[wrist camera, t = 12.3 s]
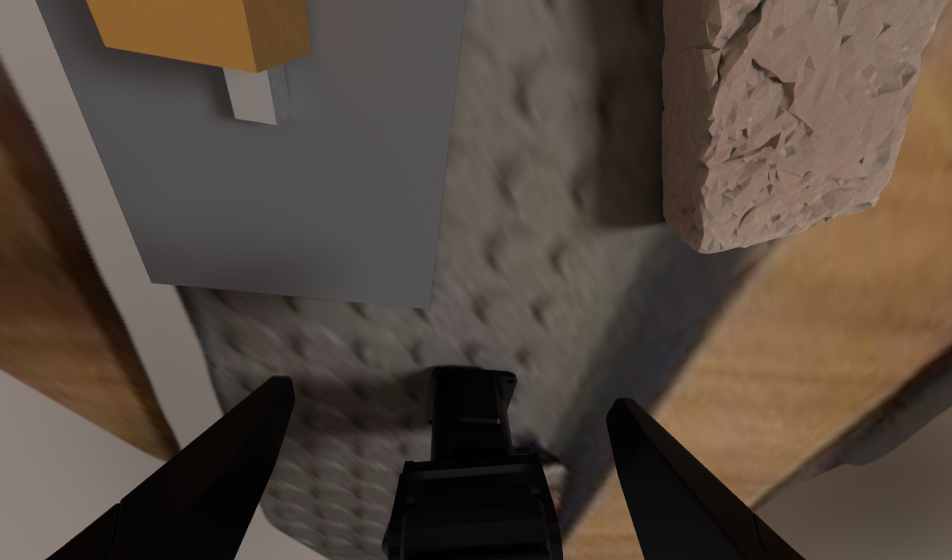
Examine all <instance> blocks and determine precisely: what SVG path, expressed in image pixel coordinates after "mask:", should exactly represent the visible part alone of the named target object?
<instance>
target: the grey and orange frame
mask: <svg viewBox="0 0 952 560" xmlns="http://www.w3.org/2000/svg"><path fill="white" fill-rule="evenodd" d="M86 1H87V4H88V6H89V9H90V11H91V13H92V16H93V18H94V21H95V23H96V25H97V28H98V30H99V33H100V35H101V37H102V40H103V42H104V45H105V47H110V48H116V49H121V50H127V51H133V52H138V53H144V54H150V55H155V56H161V57H167V58H172V59H178V60H184V61H189V62H195V63H201V64H206V65H212V66H218V67H223V71H224V75H225V79H226V83H227V87H228V91H229V95H230V99H231V103H232V107H233V111H234V115H235V119H241V120H247V121H254V122H260V123H266V124H273V125H278V124H279V123H281V122H282V121H283V120H285V119H286V118H288V117H289V116H291V111H290V104H289V97H288V91H287V84H286V78H285V71H284V65H283V63H286V62H289V61H292V60H294V59H297V58H300V57H302V56H305V55H308V54H310V53H312V49H311V40H310V30H309V21H308V12H307V2H306V0H86Z"/></svg>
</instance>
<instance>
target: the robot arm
mask: <svg viewBox="0 0 952 560" xmlns="http://www.w3.org/2000/svg"><path fill="white" fill-rule="evenodd" d="M437 374H440V375H437ZM509 379H510V380H509ZM516 383H517V378H516V375H515V374H514V373H505V372H491V371H477V370H463V369H449V368H436V369H434V370H433V371H432V377H431V384H430V391H429V398H428V405H427V412H426V424H428V425H432V440H431V459H430V461H423V462H414V461H405V464H404V468H403V473H402V474H400V477H399V480H398V487H397V492H396V496H395V501H394V506H393V510H392V515H391V518H390V521H389V524H388V527H387V529H386V532H385V535H384V538H383V541H382V553H383V555H384V556H385V557H386V559H387V560H563V551H562V542H561V535H560V529H559V524H558V519H557V515H556V511H555V507H554V503H553V500H552V497H551V494H550V490H549V487H548V484H547V481H546V477H545V474H544V471H543V467H542V464H541V461H540V458H539V454H538V452H529V454H517V455H514V454H513V447H512V441H511V434H510V428H509V421H508V415H507V409H508V406H509V403H510V401H511V398H512V395H513V392H514V389H515V386H516ZM294 403H295V394H294V388H293V383H292V379H291V377H289V376H273V377H271V378H269V379H268V380H267V381H266V382H265V383H263V384H262V385H261V386H260V387H258V388H257V389H256V390H255V391H253V392H252V393H251V394H250V395H249V396H247V397H246V398H245V399H244V400H242V401H241V402H240V403H239V404H238V405H236V406H235V407H234V408H233V409H231V410H230V411H229V412H228V413H227V414H225V415H224V416H223V417H222V418H220V419H219V420H218V421H217V422H216V423H214V424H213V425H212V426H211V427H209V428H208V429H207V430H206V431H205V432H203V433H202V434H201V435H200V436H198V437H197V438H196V439H195V440H194V441H192V442H191V443H190V444H189V445H187V446H186V447H185V448H184V449H182V450H181V451H180V452H179V453H178V454H176V455H175V456H174V457H173V458H171V459H170V460H169V461H168V462H167V463H165V464H164V465H163V466H162V467H160V468H159V469H158V470H157V471H156V472H155V473H153V474H152V475H151V476H150V477H148V478H147V479H146V480H145V481H143V482H142V483H141V484H140V485H138V486H137V487H136V488H135V489H134V490H132V491H131V492H130V493H129V494H128V495H126V496H125V497H124V498H123V499H121V501H120V504H119V503H117V504H115V505H114V506H113V507H111V508H110V509H109V510H108V511H106V512H105V513H104V514H103V515H102V516H100V517H99V518H98V519H97V520H95V521H94V522H93V523H92V524H90V525H89V526H88V527H87V528H85V529H84V530H83V531H82V532H80V533H79V534H78V535H76V536H75V537H74V538H73V539H71V540H70V541H69V542H68V543H66V544H65V545H64V546H63V547H61V548H60V549H59V550H57V551H56V552H55V553H53V554H52V555H51V556H49V557H48V558H47V559H45V560H234V558H235V556H236V554H237V552H238V549H239V547H240V545H241V542H242V540H243V538H244V536H245V533H246V531H247V528H248V526H249V524H250V522H251V520H252V517H253V515H254V513H255V510H256V508H257V506H258V504H259V501H260V499H261V497H262V494H263V492H264V490H265V488H266V485H267V483H268V481H269V478H270V476H271V474H272V471H273V469H274V466H275V464H276V461H277V458H278V455H279V451H280V448H281V445H282V442H283V439H284V436H285V432H286V429H287V426H288V423H289V420H290V417H291V413H292V410H293V407H294ZM606 423H607V428H608V432H609V437H610V442H611V446H612V451H613V456H614V460H615V465H616V469H617V473H618V477H619V480H620V484H621V487H622V490H623V493H624V496H625V499H626V503H627V506H628V509H629V512H630V515H631V518H632V521H633V525H634V528H635V531H636V534H637V537H638V540H639V543H640V547H641V550H642V553H643V556H644V559H645V560H805V559H804V558H803V557H802V556H801V555H800V554H799V553H798V552H796V551H795V550H794V549H793V548H792V547H791V546H790V545H789V544H787V543H786V542H785V541H784V540H783V539H782V538H781V537H780V536H779V535H777V533H775V532H774V531H773V530H772V529H771V528H770V527H769V526H768V525H767V524H766V523H765V522H763V521H762V520H761V519H760V518H759V517H758V516H757V515H756V514H755V513H752V511H751V509H750V508H748V507H747V506H746V505H745V504H744V503H743V502H742V501H741V500H740V499H739V498H738V497H737V496H736V495H735V494H733V493H732V492H731V491H730V490H729V489H728V488H727V487H726V486H725V485H724V484H723V483H722V482H721V481H720V480H719V479H717V478H716V477H715V476H714V475H713V474H712V473H711V472H710V471H709V470H708V469H707V468H706V467H705V466H704V465H703V464H701V463H700V462H699V461H698V460H697V459H696V458H695V457H694V456H693V455H692V454H691V453H690V452H689V451H688V450H687V449H685V448H684V447H683V446H682V445H681V444H680V443H679V442H678V441H677V440H676V439H675V438H674V437H673V436H672V435H671V434H669V433H668V432H667V431H666V430H665V429H664V428H663V427H662V426H661V425H660V424H659V423H658V422H657V421H656V420H655V419H653V418H652V417H651V416H650V415H649V414H648V413H647V412H646V411H645V410H644V409H643V408H642V407H641V406H640V405H638V404H637V403H636V402H635V401H634V400H633V399H631V398H617V399H616V400H615V402H614V403H613V405H612V407H611V408H610V410H609V412H608V413H607V417H606Z"/></svg>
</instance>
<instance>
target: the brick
mask: <svg viewBox="0 0 952 560" xmlns="http://www.w3.org/2000/svg"><path fill="white" fill-rule="evenodd" d="M945 2H946V0H663V9H662V15H663V20H664V25H663V28H664V35H665V48H664V55H663V59H662V75H663V88H662V99H663V103H664V110H663V113H662V140H663V142H662V179H663V196H664V197H663V204H662V205H663V215H664V218H665V220H666V223H667V224H668V226H669V228H670V229H671V230H672V231H673V232H674V233H675V234H678V235H679V237H680V238H681V240H682V241H683V242H684V243H686V244H688V245H689V247H691V248H693V249H694V250H696V251H697V252H700V253H704V254H708V253H716V252H721V251H725V250H729V249H733V248H736V247H741V248H746V247H748V246H751V245H754V244H757V243H761V242H765V241H768V240H772V239H776V238H780V237H785V236H789V235H792V234H795V233H799V232H801V231H804V230H806V229H808V228H810V227H813V226H816V225H818V224H821V223H824V222H827V221H829V220H832V219H835V218H838V217H842V216H847V215H851V214H855V213H858V212H862V211H865V210H868V209H871V208H874V207H875V205H876V203H877V202H878V200H879V197H880V193H881V190H882V189H883V188H884V187H885V186H886V185H887V183H888V182H889V181H890V178H891V176H892V173H893V170H894V167H895V164H896V160H897V157H898V154H899V151H900V148H901V145H902V142H903V138H904V135H905V131H906V127H907V121H908V115H909V113H910V110H911V108H912V105H913V103H914V90H915V88H916V86H917V83H918V81H919V76H920V71H921V58H920V52H921V51H922V50H923V48H924V47H925V45H926V44H927V43H928V41H929V40H930V38H931V37H932V36H933V34H934V31H935V27H936V24H937V20H938V18H939V16H940V14H941V11H942V9H943V7H944V5H945Z"/></svg>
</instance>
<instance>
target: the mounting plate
mask: <svg viewBox="0 0 952 560" xmlns="http://www.w3.org/2000/svg"><path fill="white" fill-rule="evenodd" d="M36 2H37V5H38V7H39V10H40V12H41V14H42V17H43V19H44V21H45V24H46V27H47V29H48V32H49V34H50V36H51V39H52V41H53V44H54V46H55V49H56V51H57V54H58V56H59V58H60V61H61V63H62V65H63V68H64V71H65V73H66V76H67V78H68V80H69V83H70V85H71V88H72V90H73V93H74V95H75V97H76V100H77V102H78V105H79V107H80V109H81V112H82V115H83V117H84V119H85V122H86V124H87V127H88V129H89V132H90V134H91V136H92V139H93V141H94V144H95V146H96V149H97V151H98V154H99V156H100V158H101V161H102V163H103V166H104V168H105V170H106V173H107V175H108V178H109V180H110V183H111V185H112V187H113V190H114V192H115V195H116V197H117V200H118V202H119V205H120V207H121V209H122V212H123V214H124V217H125V219H126V222H127V224H128V226H129V229H130V231H131V234H132V236H133V239H134V241H135V244H136V246H137V248H138V251H139V253H140V256H141V258H142V261H143V263H144V266H145V268H146V270H147V273H148V275H149V278H150V280H151V282H152V283H158V284H169V285H179V286H190V287H200V288H211V289H222V290H232V291H243V292H253V293H264V294H275V295H285V296H296V297H307V298H317V299H328V300H338V301H349V302H360V303H370V304H381V305H392V306H402V307H413V308H423V309H430V301H431V292H432V284H433V275H434V266H435V258H436V249H437V241H438V232H439V224H440V215H441V207H442V198H443V190H444V181H445V173H446V164H447V156H448V147H449V139H450V130H451V122H452V113H453V105H454V96H455V88H456V79H457V71H458V62H459V53H460V45H461V36H462V28H463V19H464V11H465V2H466V0H306V2H307V12H308V21H309V30H310V40H311V49H312V53H310V54H308V55H305V56H302V57H300V58H297V59H294V60H292V61H289V62H286V63H283V65H284V71H285V78H286V84H287V91H288V97H289V104H290V111H291V116H289V117H288V118H286V119H285V120H283V121H282V122H281V123H279V124H278V125H273V124H266V123H260V122H254V121H247V120H241V119H235V115H234V111H233V107H232V103H231V99H230V95H229V91H228V87H227V83H226V79H225V75H224V71H223V67H218V66H212V65H206V64H201V63H195V62H189V61H184V60H178V59H172V58H167V57H161V56H155V55H150V54H144V53H138V52H133V51H127V50H121V49H116V48H110V47H105V45H104V42H103V40H102V37H101V35H100V33H99V30H98V28H97V25H96V23H95V21H94V18H93V16H92V13H91V11H90V9H89V6H88V4H87V1H86V0H36Z"/></svg>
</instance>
